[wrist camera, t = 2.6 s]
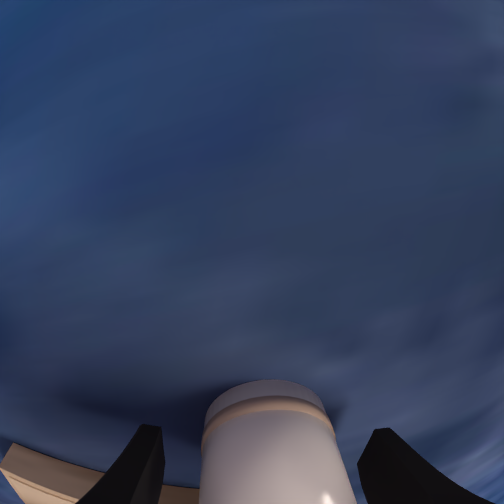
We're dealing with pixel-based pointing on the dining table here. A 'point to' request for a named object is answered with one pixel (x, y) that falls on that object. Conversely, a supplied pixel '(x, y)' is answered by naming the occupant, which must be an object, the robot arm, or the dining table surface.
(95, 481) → the base board
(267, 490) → the pot
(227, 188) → the dining table surface
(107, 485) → the robot arm
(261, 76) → the dining table surface
